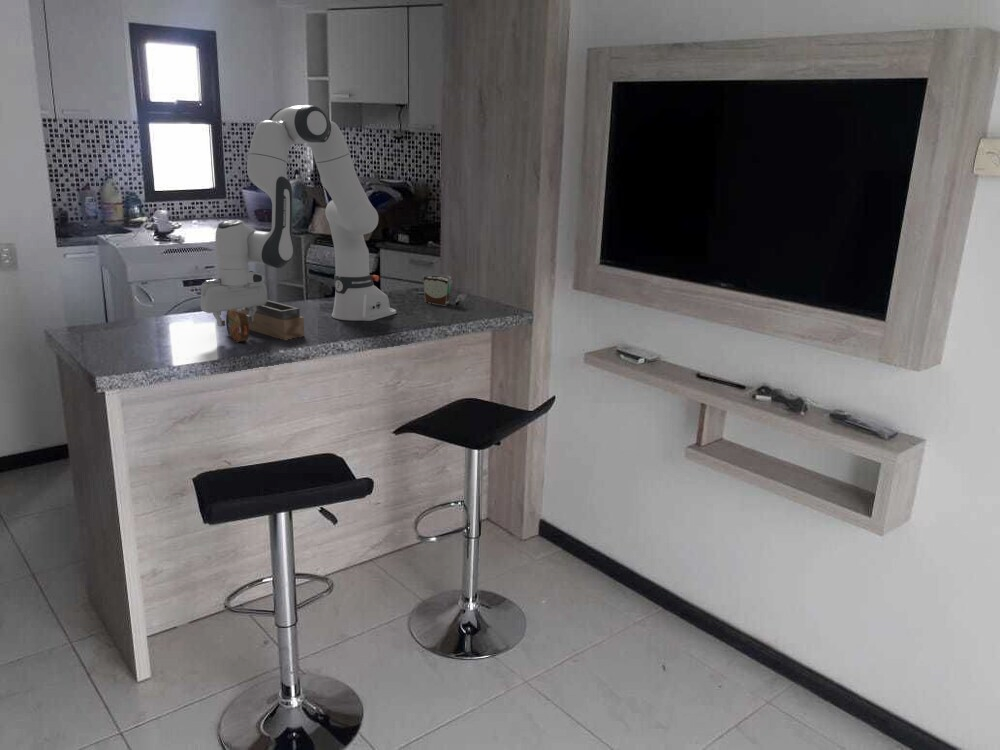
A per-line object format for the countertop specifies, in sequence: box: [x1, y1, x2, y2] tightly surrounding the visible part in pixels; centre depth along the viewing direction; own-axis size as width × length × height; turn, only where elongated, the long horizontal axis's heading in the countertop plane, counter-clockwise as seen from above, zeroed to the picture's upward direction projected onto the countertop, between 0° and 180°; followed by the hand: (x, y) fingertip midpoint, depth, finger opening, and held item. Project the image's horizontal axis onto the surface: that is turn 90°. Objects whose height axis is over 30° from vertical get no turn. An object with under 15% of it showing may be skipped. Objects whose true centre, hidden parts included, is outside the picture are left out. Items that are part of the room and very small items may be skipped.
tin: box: [225, 309, 250, 343], centre depth 238 cm, size 15×3×8 cm, turn 33°
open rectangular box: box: [241, 299, 305, 341], centre depth 247 cm, size 7×22×8 cm, turn 50°
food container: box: [421, 274, 453, 307], centre depth 296 cm, size 12×6×10 cm, turn 58°
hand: (235, 323), depth 238 cm, fingers open, 8 cm apart
